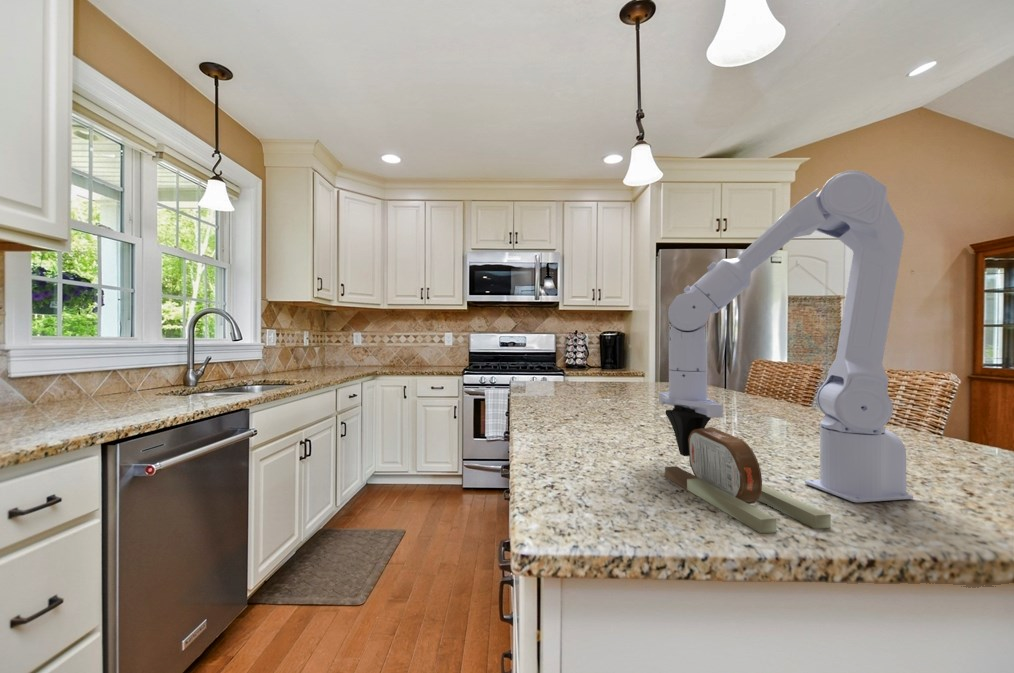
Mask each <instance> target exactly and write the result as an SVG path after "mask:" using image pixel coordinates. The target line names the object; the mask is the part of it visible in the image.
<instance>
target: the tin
mask: <svg viewBox="0 0 1014 673" xmlns="http://www.w3.org/2000/svg"><path fill="white" fill-rule="evenodd" d="M688 443H689V456H688V457H689V460H688V461H689V465H690V468H691V471H692V474H693V475H694V476H696V477H698V478H700V479H702V480H704V481H706V482H708V483H710V484H712V485H713V486H715V487H717V488H719V489H721V490H723V491H725V492H727V493H729V494H731V495H733V496H735V497H736V498H738V499H740V500H742V501H744V502H746V503H748V504H750V505H752V504H754V503H757V501H758V499H759V497H760V495H761V491H762V484H763V478H762V476H763V475H762V471H761V466H760V464H759V462H758V459H757V457H756V454H755V452H754V451H753V449H752V447H750V445H749V444H748V443H747V442H746V441H744V440H743V439H741V438H739V437H737V436H735V435H732V434H729V433H728V432H726V431H725V432H724V431H722V430H720V429H717V428H715V427H713V426H709V427H705V428H701V429H695V430H693V431H692V432H691V433H690V435H689V438H688Z"/></svg>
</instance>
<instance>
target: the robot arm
mask: <svg viewBox="0 0 1014 673" xmlns="http://www.w3.org/2000/svg"><path fill="white" fill-rule="evenodd" d="M821 188H822V189H821V190H820V191H819V188H818V187H817V188H816V189H815V190H813V191H812V192H810V193H809V194H808V195H806V196H805V197H803V198H802V199H801V200H799V201H798V202H797V203H796V204H794V205H793V206H792V207H790V208H789V209H788V210H786V211H785V213H783V214H782V215H781V216H780V217H779V218H778V219H777V220H776V221H775V222H774V223H773V224H772V225H770V226H769V228H767V229H765V231H764V232H763V233H762V234H761V235H760V236H759V237H757V238H756V240H754V241H753V242H752V243H751V244H750V245H749V246H748V247H747V248H746V249H745V250H743V252H741V253H740V254H739V255H738V256H737V257H735V258H723V259H721V260H720V261H718V262H717V263H716V262H715V261H712V262H711V263H710V264H709V265H708V266H707V267H706V269H707V271H706V273H705V274H703V276H701V277H700V278H699V279H698V280H697V281H696V282H695V283H693V284H692V285H691V286H690V285H686V287H684V289H683V293H680V294H678V295H676V297H674V300H673V301H672V302H671V303H670V304H669V307H668V312H667V313H668V316H667V317H668V320H669V323H670V324H671V326H670V329H669V331H668V332H669V334H668V335H669V338H670V340H669V341H668V391H667V392H666V391H663V392H662V391H661V392H659V393H658V403H659V404H661V405H667V406H668V405H669V406H672V407H673V408H672V409H666V410H665V416H666V417H667V418H668V421H669V422H670V424H671V427H672V429H673V430H672V431H673V432H674V436H675V441H676V444H677V447H678V452H679V455H681V456H683V457H689V443H688V438H689V435H690V433H691V432H692V431H693V430H695V429H701V428H706V426H707V425H708V423H709V421H710V420H711V419H713V418H714V419H715V418H724V404H723V403H719V402H716V401H714V400H713V399H710V398H708V341H707V340H706V326H705V325H706V324H707V322H708V320H709V317H710V314H718V313H719V312H720V311H721V310H722V309H723V308H725V307H726V306H727V305H728V304H730V303H731V302H732V301H733V300H734V299H735V298H736V297H738V296H739V295H740V294H741V293H743V292H744V291H745V290H746V289H747V288H749V287H750V285H751V275H752V272H753V271H755V269H757V268H759V266H761V265H762V264H763V263H764V262H766V261H767V260H768V259H769V258H771V256H773V255H774V254H775V253H777V252H778V251H779V250H781V249H782V248H783V247H784V246H785V245H786V244H787V243H789V242H790V241H792V240H793V239H794V238H799V237H804V236H810V235H812V234H813V233H814V232H816V231H817V232H819V233H821V234H825V235H827V236H830V237H832V238H835V239H838V240H839V242H842V243H843V244H844V245H845V246H847V247H848V248H849V249H850V250H852V252H853V254H852V259H851V264H850V266H851V267H850V272H849V277H848V282H847V288H846V296H845V301H844V308H843V314H842V319H841V323H840V330H839V335H838V336H839V337H838V342H837V348H836V355H835V358H834V360H833V362H832V363H831V365H830V367H829V369H828V372H827V377H826V379H825V381H824V382H823V384H822V385H821V386H820V387H819V389H818V390H817V393H816V403H817V404H816V405H817V406H818V409H819V410H820V411H821V412H822V413H823V414H824V417H823V418H822V420H820V422H819V425H820V426H819V475H820V476H819V478H818V479H805V480H804V483H805V485H808V486H811V487H813V488H816V489H819V490H821V491H823V492H826V493H828V494H830V495H831V494H832V495H834V496H836V497H839V498H842V499H844V500H847V501H848V502H849V501H850V502H852V503H857V504H858V503H868V502H869V503H870V502H882V501H883V502H884V501H897V500H913V499H914V495H913V494H910V493H907V451H906V447H905V445H904V443H903V442H904V441H902V439H901V438H900V437H899V436H898V435H897V434H896V433H894V432H893V431H891V430H888V429H886V426H885V425H886V424H887V425H888V423H889V422H890V420H891V419H892V417H893V412H894V409H893V408H894V405H893V402H892V400H891V398H890V394H889V392H888V391H889V387H888V385H889V376H888V375H887V372H886V370H885V367H884V364H883V362H884V360H883V359H884V355H885V350H886V343H887V338H888V331H889V327H890V320H891V314H892V310H893V302H894V297H895V291H896V287H897V286H896V285H897V281H898V280H897V279H898V275H899V274H898V273H899V269H900V262H901V257H902V252H903V251H902V250H903V245H904V239H905V232H904V229H903V227H902V226H901V223H900V221H899V219H898V218H897V215H896V214H895V211H894V210H893V207H892V206H891V204H890V201H889V200H888V188H887V186H886V185H885V184H884V183H883V182H881V181H879V180H877V179H876V178H875V177H873V176H872V175H871V174H870V173H869V174H868V173H867V172H865V171H860V170H845V171H842V172H840V173H837V174H835V175H833V176H832V177H830V178H829V179H828V180H827V181H826V183H824V185H823V186H822V187H821ZM818 191H819V192H818Z"/></svg>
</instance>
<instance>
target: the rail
mask: <svg viewBox="0 0 1014 673" xmlns="http://www.w3.org/2000/svg"><path fill="white" fill-rule="evenodd" d="M664 477H665V478H667V479H668V480H671V481H672V482H673V483H675V484H677V485H678V486H681V487H682V488H684V489H685V490H687V491H689V492H690V493H692V494H694V495H695V496H697V497H698V498H701V499H702V500H704V502H707V503H709V504H710V505H712V506H714V507H716V508H717V509H719V510H721V511H722V512H723V513H725V514H727V515H729V516H731V517H732V518H734V519H736V520H738V521H739V522H741V523H743V524H744V525H746V526H748V527H749V528H751V529H753V530H755V531H756V532H758V533H759V534H767V533H768V534H769V533H770V534H771V533H777V518H776V517H774V516H773V515H771V514H769V513H767V512H765V511H763V510H761V509H759V508H758V507H755V506H753V505H752V504H748V503H746V502H744V501H742V500H740V499H738V498H736V497H735V496H733V495H731V494H729V493H727V492H725V491H723V490H721V489H719V488H717V487H715V486H713V485H712V484H710V483H708V482H706V481H704V480H702V479H700V478H698V477H696V476H695V475H694V474H693V473H690V472H689V471H688V470H684V469H683V468H682V467H681V468H680V467H679V466H677V465H676V466H674V465H673V466H664ZM757 501H758V502H761V503H763V504H764V505H766V504H767V506H769V507H770V506H771V508H772V507H773V508H772V509H775V510H776V509H777V511H778V510H779V511H778V512H780V511H781V513H782V514H785V515H786V516H788V517H791V518H793V519H794V520H797V521H799V522H801V523H803V524H805V525H807V526H809V527H811V528H813V529H814V530H817V529H830V528H831V526H832V525H831V523H832V522H831V520H832V519H831V515H832V514H830V513H829V512H826V511H824V510H821V509H819V508H817V507H815V506H812V505H810V504H808V503H805V502H803V501H801V500H799V499H796V498H795V497H792V496H790V495H787V494H785V493H783V492H781V491H778V490H776V489H774V488H771V487H769V486H767V485H765V484H763V483H762V491H761V495H760V497H759V499H758V500H757Z"/></svg>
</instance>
